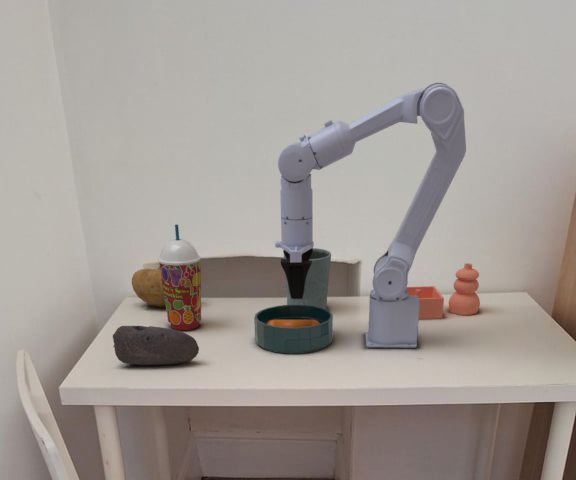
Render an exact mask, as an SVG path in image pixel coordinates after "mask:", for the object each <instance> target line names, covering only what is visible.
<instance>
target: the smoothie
mask: <svg viewBox="0 0 576 480" xmlns="http://www.w3.org/2000/svg"><path fill="white" fill-rule="evenodd" d="M174 228H175V229H174V232H175V239H172V240H170V241H168V242H167V243H166V244H164V246H163V247H162V249H161V251H160V254H159V257H158V258H157V261H158V266H159V269H160V273H161V280H162V286H163V292H164V299H165V305H166V307H165V311H166V317H167V322H168V323H169V324H170V327H171V329H174V330H178V331H191V330H194V329H196V328H198V327H199V326H200V322H201V320H202V277H201V271H202V269H201V265H202V264H201V259H202V257H201V256H200V255H199V253H198V252H197V249H196V248H195V247H194V245H193V244H192V243H191V242H189V241H187V240H185V239H181V238H180V230H179V224H174Z"/></svg>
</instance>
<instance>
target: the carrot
mask: <svg viewBox="0 0 576 480" xmlns="http://www.w3.org/2000/svg"><path fill="white" fill-rule="evenodd" d="M267 324H268V325H272V326H278V327H307V326H313V325H318V324H320V323H319V322H318V321H316V320H271V321H269V322H268V323H267Z"/></svg>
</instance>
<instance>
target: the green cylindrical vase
mask: <svg viewBox="0 0 576 480" xmlns="http://www.w3.org/2000/svg"><path fill="white" fill-rule="evenodd" d="M283 259H286V257H285V254H284V253H283ZM310 260H312V264H311V266H310V268H309V270H308V273H307V276H306V281H305V288H304V294H303V298H302V299H291V296H290V291H289V286H288V281H287V277H286V276H285V283H286V284H285V285H286V286H285V287H286V305H309V306H315V307H320V308H323V309H326V310H327V307H328V292H329V281H330V280H329V279H330V269H331V262H332V261H331V260H332V252H330V251H329V250H327V249H324V248H323V249H322V248H318V247H317V248H316V247H313V252H312V254H311V256H310V259H309V261H310Z"/></svg>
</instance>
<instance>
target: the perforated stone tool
mask: <svg viewBox="0 0 576 480" xmlns="http://www.w3.org/2000/svg"><path fill="white" fill-rule="evenodd" d="M112 339H113V346H112V348H114V354H115V356H116V358H117V359H118V360H119V361H120V362H122V363H123V364H127V365H135V366H164V365H179V364H184V363H187V362H188V363H189V362H191V361H193V360H194V359H195V358H196V357H197V356H198V354H199V351H200V346H199V345H198V342H197V340H196V339H195V338H194V337H193V336H192V335H190V334H188V333H186V332H184V331H182V330H176V329H173V328H168V327H161V326H151V325H149V326H144V325H121V326H119V327H117V329H116V330H115V331H114V333H113V334H112Z"/></svg>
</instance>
